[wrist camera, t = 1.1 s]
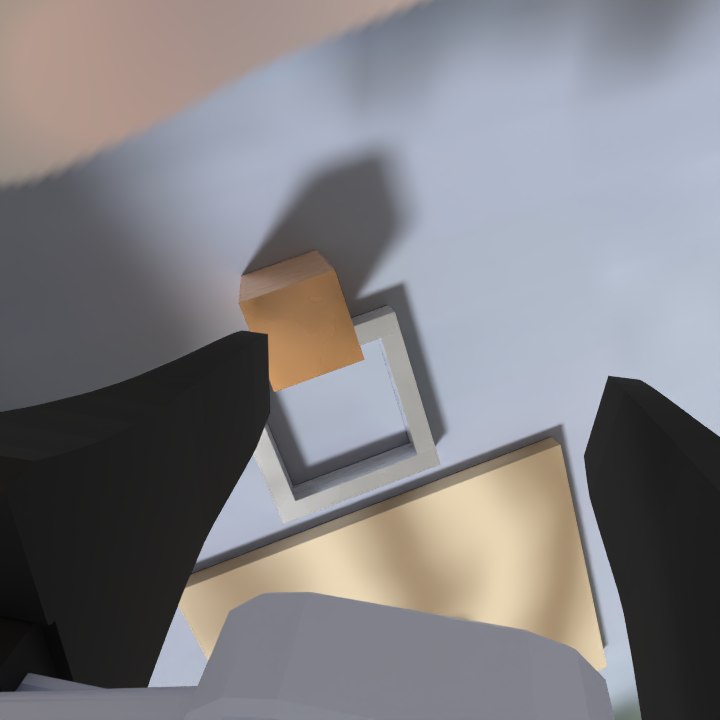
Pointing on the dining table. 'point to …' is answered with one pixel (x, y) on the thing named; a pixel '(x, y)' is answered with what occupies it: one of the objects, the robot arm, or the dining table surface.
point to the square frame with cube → (320, 356)
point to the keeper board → (435, 556)
